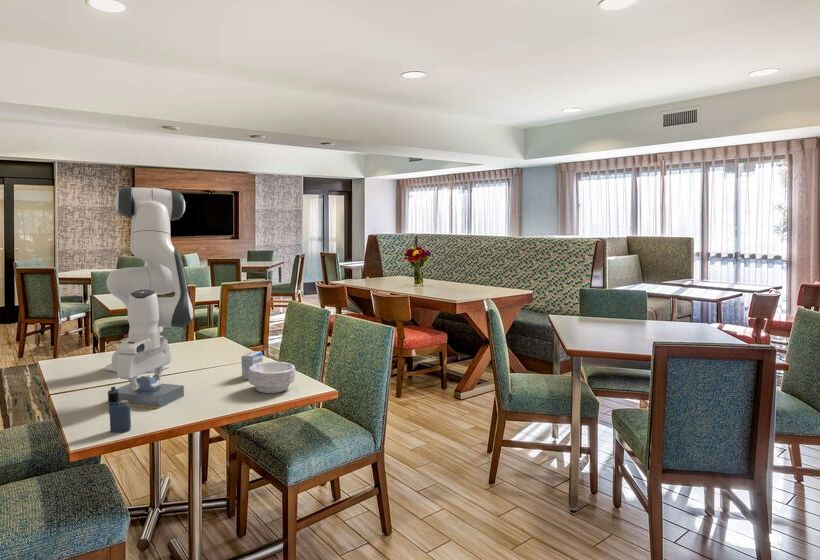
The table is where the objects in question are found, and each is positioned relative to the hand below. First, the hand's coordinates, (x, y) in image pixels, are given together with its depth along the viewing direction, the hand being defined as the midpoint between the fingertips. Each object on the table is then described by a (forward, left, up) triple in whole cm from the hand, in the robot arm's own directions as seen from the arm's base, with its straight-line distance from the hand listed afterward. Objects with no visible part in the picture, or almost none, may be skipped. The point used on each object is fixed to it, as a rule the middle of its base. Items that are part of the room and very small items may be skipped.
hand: (146, 385), depth 170 cm
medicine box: (+19, +32, -5) cm, 38 cm away
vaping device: (+11, -24, -5) cm, 27 cm away
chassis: (0, 0, -5) cm, 5 cm away
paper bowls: (+33, +20, -5) cm, 39 cm away
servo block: (0, 0, -5) cm, 5 cm away
